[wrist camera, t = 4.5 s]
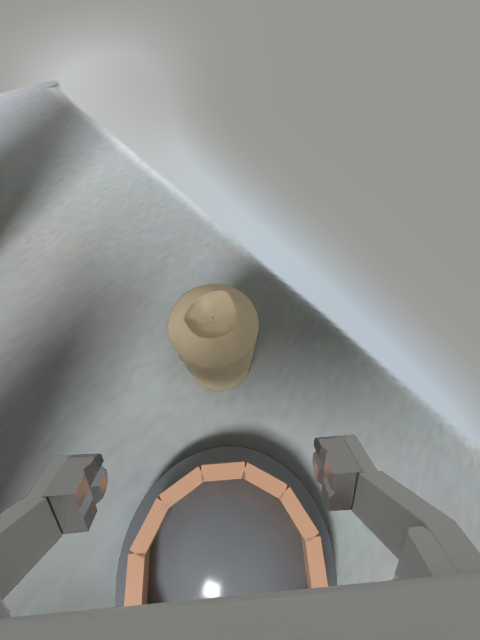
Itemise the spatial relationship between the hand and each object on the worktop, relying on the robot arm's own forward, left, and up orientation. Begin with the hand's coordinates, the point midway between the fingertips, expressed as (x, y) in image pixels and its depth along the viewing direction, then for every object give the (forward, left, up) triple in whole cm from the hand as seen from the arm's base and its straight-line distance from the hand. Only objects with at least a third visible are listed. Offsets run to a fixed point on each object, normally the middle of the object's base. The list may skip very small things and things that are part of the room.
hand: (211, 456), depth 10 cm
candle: (0, +7, -12) cm, 14 cm away
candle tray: (0, -7, -12) cm, 14 cm away
